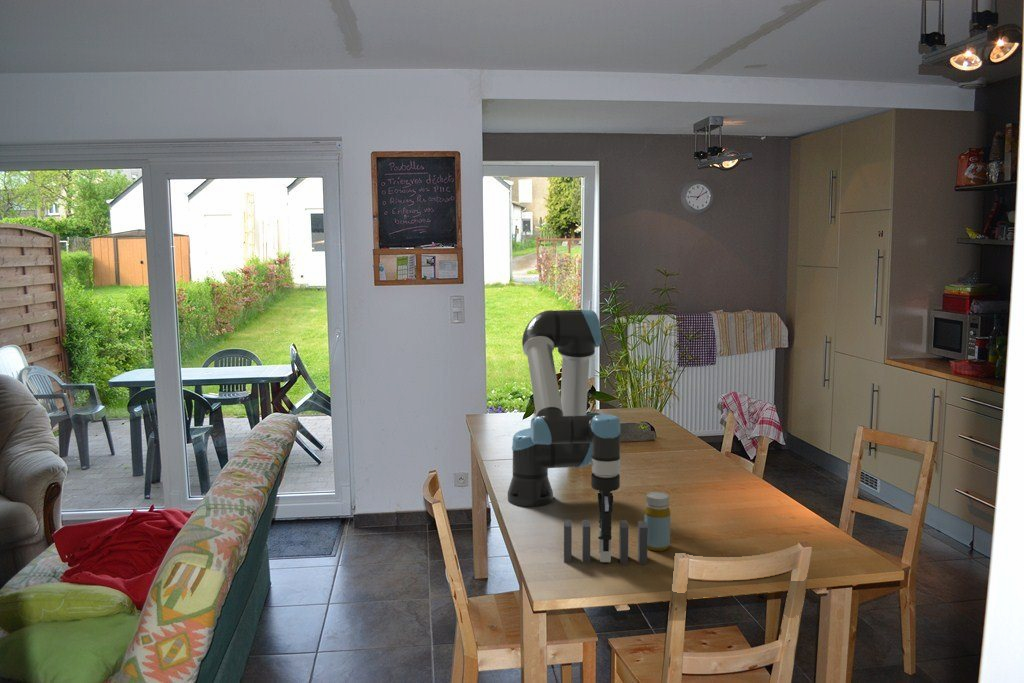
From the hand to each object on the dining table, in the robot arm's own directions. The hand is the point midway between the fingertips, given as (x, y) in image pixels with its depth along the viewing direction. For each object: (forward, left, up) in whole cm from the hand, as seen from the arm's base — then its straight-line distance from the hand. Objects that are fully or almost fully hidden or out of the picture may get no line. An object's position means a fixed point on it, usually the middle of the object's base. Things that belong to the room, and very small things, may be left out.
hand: (604, 556), depth 206 cm
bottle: (-9, +15, -1) cm, 18 cm away
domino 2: (0, -5, -1) cm, 5 cm away
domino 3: (0, +5, -1) cm, 5 cm away
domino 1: (0, -10, -1) cm, 10 cm away
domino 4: (0, +10, -1) cm, 10 cm away
